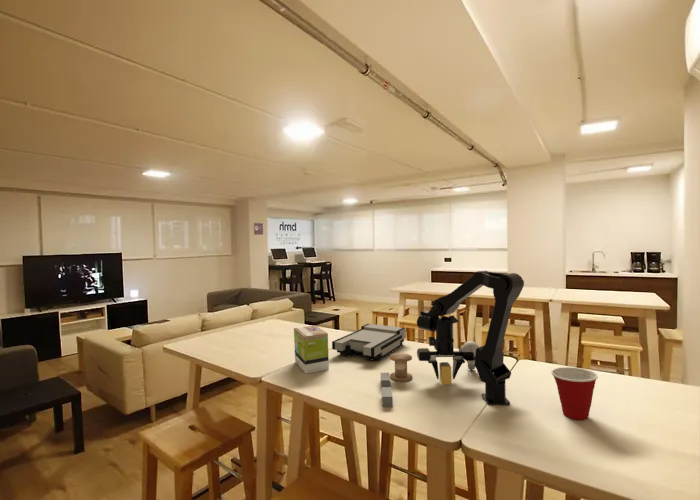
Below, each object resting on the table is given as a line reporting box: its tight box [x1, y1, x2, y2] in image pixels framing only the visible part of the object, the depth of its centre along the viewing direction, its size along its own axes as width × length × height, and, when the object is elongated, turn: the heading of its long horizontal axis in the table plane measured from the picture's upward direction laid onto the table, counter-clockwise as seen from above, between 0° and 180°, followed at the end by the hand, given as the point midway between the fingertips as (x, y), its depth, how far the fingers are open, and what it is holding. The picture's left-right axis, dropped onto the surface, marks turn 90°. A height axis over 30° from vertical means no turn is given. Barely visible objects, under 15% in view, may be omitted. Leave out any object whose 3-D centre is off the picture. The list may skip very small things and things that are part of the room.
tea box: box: [293, 324, 330, 374], centre depth 138 cm, size 15×10×15 cm, turn 25°
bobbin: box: [389, 352, 413, 383], centre depth 124 cm, size 8×8×8 cm
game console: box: [331, 323, 407, 362], centre depth 157 cm, size 21×32×8 cm, turn 148°
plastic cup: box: [550, 366, 599, 421], centre depth 94 cm, size 11×11×12 cm
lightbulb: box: [462, 340, 480, 371], centre depth 129 cm, size 6×6×11 cm
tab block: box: [438, 361, 453, 385], centre depth 119 cm, size 4×3×6 cm
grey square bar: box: [380, 372, 394, 408], centre depth 111 cm, size 19×3×3 cm, turn 177°
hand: (445, 378), depth 119 cm, fingers open, 5 cm apart
